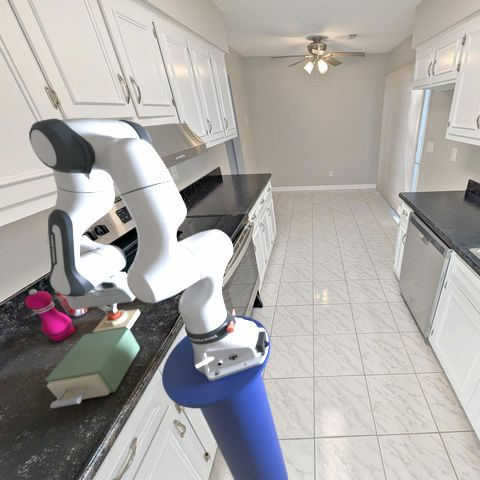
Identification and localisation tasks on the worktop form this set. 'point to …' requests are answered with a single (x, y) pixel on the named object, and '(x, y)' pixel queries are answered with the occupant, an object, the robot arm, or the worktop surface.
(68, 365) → the cabinet
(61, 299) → the soda can
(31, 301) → the pepper mill
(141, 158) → the robot arm
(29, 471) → the worktop surface
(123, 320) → the control block
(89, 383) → the drawer
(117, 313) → the button
